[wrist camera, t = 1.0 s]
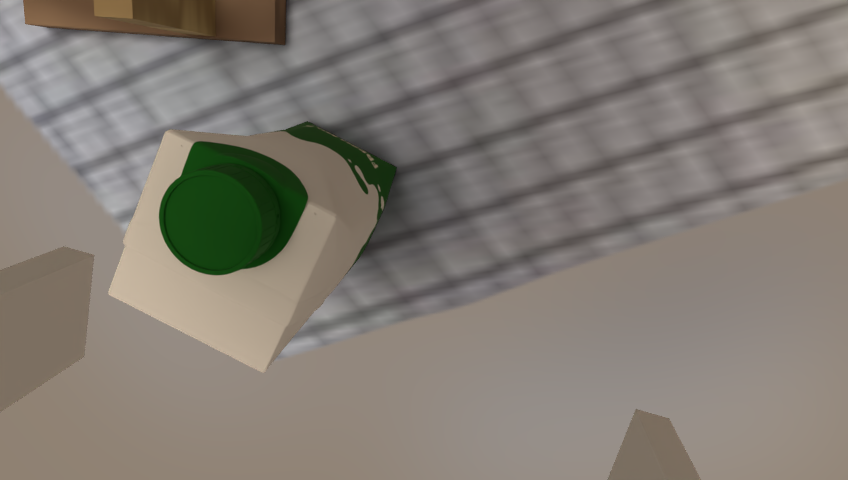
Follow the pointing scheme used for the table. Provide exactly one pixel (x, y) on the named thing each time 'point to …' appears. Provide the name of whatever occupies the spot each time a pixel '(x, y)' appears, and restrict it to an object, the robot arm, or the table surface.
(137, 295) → the milk carton
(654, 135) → the table surface
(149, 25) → the post base
